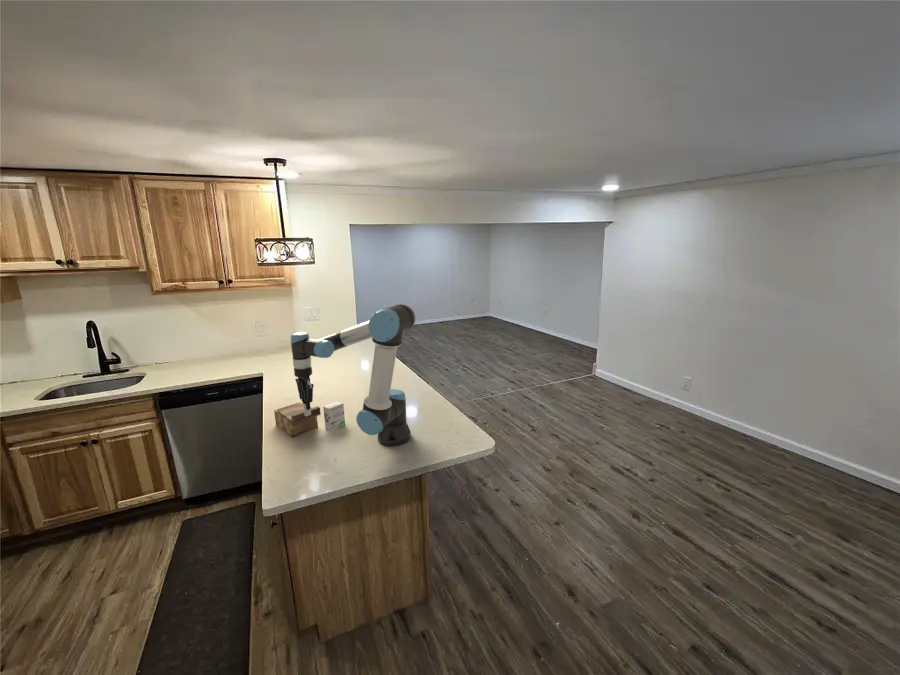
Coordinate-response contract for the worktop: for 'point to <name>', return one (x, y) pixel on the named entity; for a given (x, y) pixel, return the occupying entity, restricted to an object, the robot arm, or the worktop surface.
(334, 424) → the ink box
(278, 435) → the worktop surface
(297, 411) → the lid
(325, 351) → the robot arm
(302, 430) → the crate
